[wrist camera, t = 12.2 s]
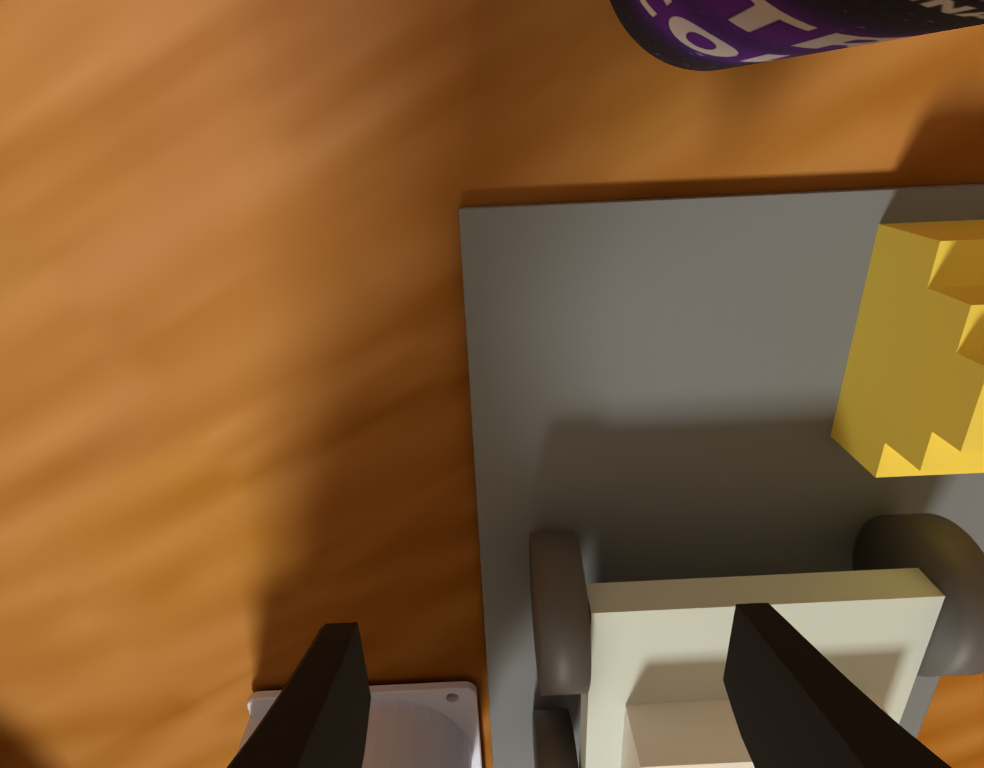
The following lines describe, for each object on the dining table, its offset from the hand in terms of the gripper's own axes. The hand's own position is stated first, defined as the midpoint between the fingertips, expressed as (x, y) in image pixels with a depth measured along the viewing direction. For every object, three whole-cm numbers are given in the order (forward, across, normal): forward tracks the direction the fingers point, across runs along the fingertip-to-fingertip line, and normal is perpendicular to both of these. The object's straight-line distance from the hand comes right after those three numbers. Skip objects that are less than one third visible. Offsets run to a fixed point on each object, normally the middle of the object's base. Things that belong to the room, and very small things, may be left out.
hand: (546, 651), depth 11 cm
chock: (+9, -13, -3) cm, 16 cm away
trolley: (+9, -7, +10) cm, 15 cm away
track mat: (+9, -8, +6) cm, 14 cm away
